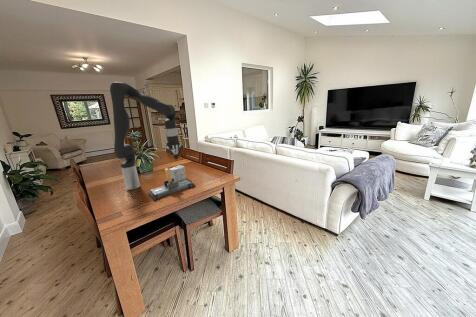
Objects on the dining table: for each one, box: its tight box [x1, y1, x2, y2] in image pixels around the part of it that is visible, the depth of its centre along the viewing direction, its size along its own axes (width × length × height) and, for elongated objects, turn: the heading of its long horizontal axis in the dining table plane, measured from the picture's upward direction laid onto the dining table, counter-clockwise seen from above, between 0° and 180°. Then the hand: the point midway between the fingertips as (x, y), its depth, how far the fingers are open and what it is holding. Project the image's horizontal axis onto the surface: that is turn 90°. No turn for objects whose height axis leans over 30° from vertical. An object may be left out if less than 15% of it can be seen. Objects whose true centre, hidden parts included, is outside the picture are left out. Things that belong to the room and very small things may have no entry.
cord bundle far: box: [187, 179, 196, 189], centre depth 144 cm, size 15×4×2 cm, turn 39°
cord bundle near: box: [147, 190, 161, 201], centre depth 129 cm, size 15×4×2 cm, turn 39°
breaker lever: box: [164, 167, 172, 183], centre depth 134 cm, size 4×2×13 cm, turn 39°
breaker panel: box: [149, 178, 192, 198], centre depth 136 cm, size 10×26×7 cm, turn 129°
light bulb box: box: [168, 164, 187, 181], centre depth 153 cm, size 11×7×11 cm, turn 145°
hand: (176, 159), depth 134 cm, fingers closed
